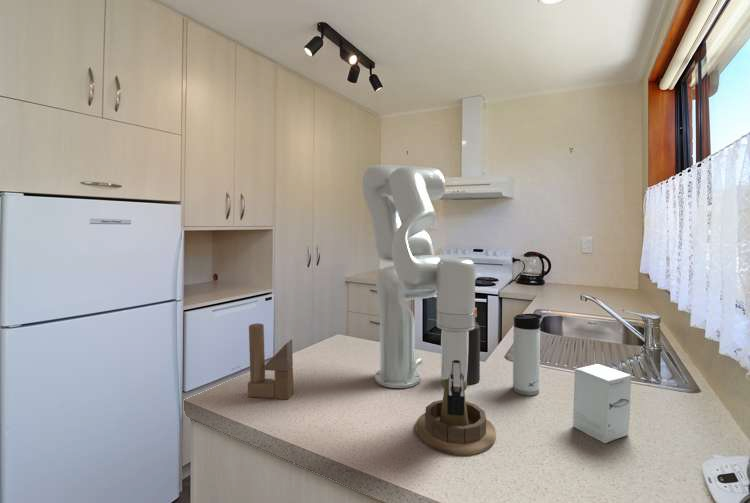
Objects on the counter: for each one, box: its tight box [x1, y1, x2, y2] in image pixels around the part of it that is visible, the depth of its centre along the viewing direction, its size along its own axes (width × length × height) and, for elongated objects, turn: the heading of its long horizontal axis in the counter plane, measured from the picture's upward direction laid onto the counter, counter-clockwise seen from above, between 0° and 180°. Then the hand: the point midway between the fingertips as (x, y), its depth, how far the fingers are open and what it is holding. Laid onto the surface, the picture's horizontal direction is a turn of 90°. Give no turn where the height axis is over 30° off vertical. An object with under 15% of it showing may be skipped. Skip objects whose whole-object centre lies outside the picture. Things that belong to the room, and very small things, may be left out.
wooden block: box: [247, 323, 294, 400], centre depth 94 cm, size 4×11×18 cm, turn 82°
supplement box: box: [572, 363, 632, 444], centre depth 76 cm, size 7×7×13 cm
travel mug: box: [512, 313, 543, 397], centre depth 95 cm, size 6×7×20 cm
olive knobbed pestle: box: [440, 376, 469, 426], centre depth 77 cm, size 6×6×11 cm
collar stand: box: [415, 399, 497, 456], centre depth 77 cm, size 16×16×4 cm
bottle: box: [467, 307, 481, 385], centre depth 103 cm, size 7×7×20 cm
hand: (455, 404), depth 77 cm, fingers open, 6 cm apart
